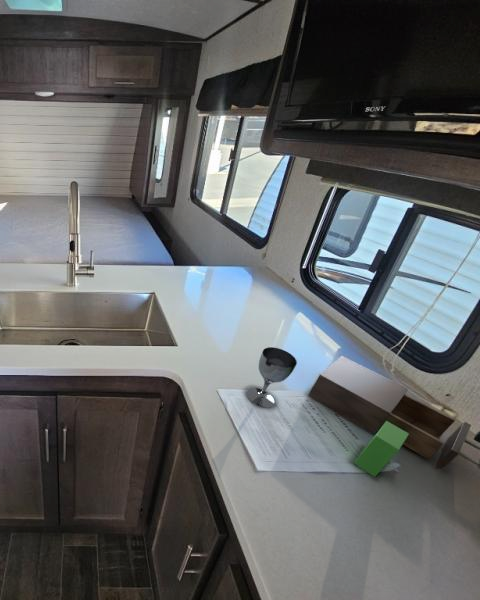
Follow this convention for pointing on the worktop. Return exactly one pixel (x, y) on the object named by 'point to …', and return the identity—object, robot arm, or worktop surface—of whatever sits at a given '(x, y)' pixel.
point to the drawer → (429, 431)
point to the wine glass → (271, 374)
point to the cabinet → (357, 393)
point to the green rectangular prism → (381, 448)
